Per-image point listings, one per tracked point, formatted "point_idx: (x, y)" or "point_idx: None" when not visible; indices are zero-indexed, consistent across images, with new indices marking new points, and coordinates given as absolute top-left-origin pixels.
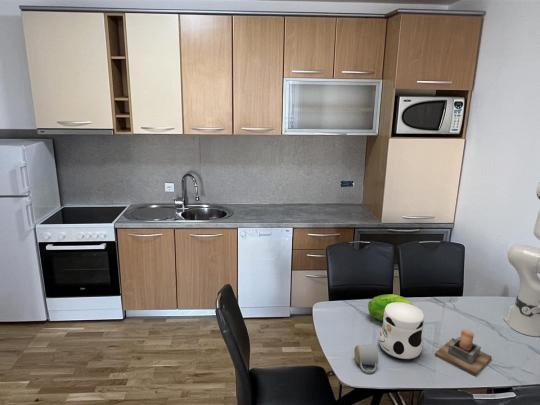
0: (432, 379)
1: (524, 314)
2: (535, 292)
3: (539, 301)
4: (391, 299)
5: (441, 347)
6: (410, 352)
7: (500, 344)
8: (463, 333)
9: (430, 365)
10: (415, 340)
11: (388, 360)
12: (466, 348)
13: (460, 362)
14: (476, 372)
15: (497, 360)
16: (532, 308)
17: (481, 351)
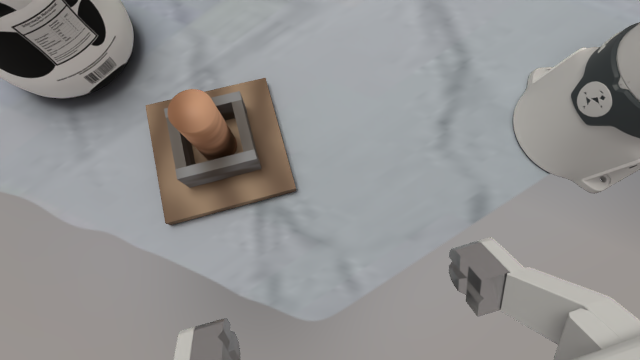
0: (42, 181)
1: (576, 106)
2: None
3: (456, 257)
4: None
5: None
6: (16, 85)
7: (396, 154)
8: (172, 105)
9: (97, 136)
10: (4, 58)
11: None
12: (194, 146)
13: (171, 168)
14: (170, 221)
15: (310, 202)
16: (196, 341)
17: (287, 159)
